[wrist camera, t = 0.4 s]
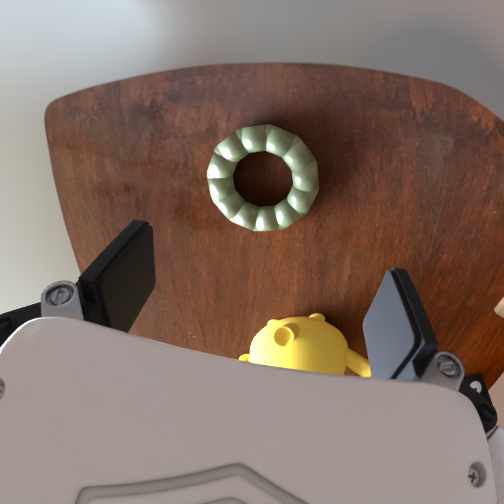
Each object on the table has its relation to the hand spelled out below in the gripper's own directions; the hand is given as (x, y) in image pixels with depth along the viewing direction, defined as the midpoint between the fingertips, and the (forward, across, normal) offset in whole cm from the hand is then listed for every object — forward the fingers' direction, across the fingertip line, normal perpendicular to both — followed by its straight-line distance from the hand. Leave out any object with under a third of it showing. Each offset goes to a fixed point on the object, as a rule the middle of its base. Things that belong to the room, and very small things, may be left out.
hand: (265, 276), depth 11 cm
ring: (+18, +2, +2) cm, 18 cm away
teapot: (+19, -7, +22) cm, 30 cm away
